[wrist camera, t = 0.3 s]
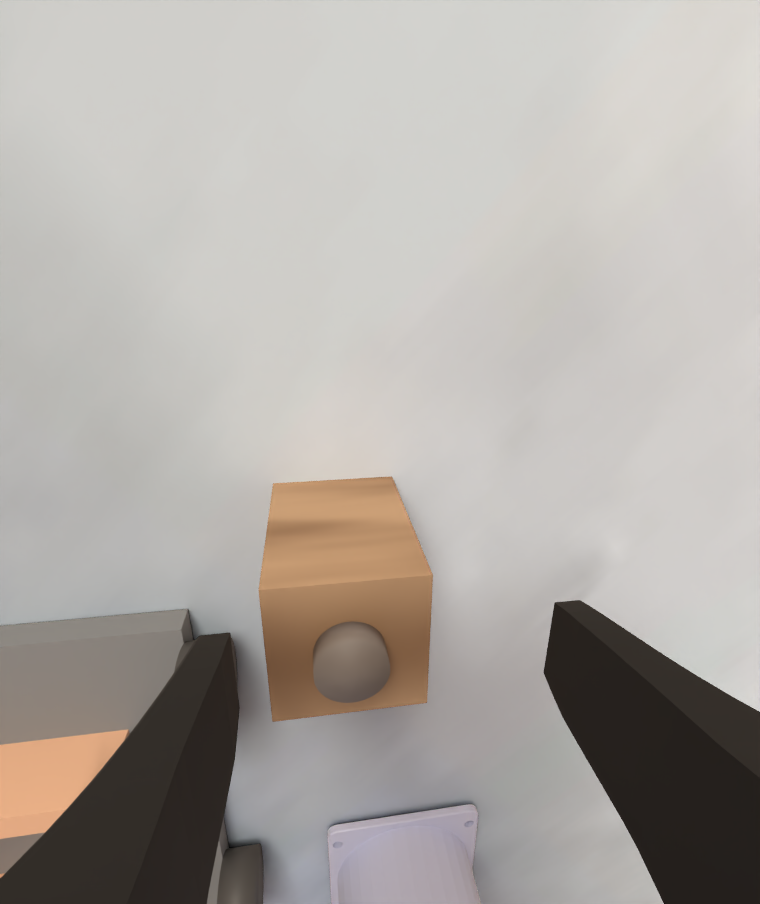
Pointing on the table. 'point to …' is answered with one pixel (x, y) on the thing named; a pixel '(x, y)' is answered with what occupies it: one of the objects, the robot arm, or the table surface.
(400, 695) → the block
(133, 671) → the chassis
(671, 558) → the table surface
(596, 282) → the table surface
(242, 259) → the table surface
